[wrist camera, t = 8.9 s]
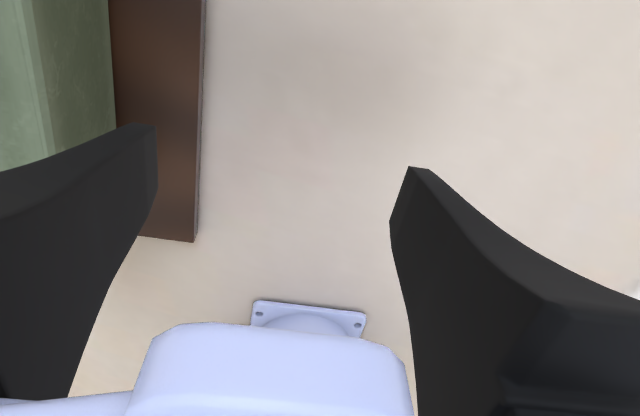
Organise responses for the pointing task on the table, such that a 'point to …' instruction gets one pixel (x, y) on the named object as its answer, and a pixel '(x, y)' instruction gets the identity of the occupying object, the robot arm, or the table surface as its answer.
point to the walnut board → (163, 99)
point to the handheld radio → (53, 77)
